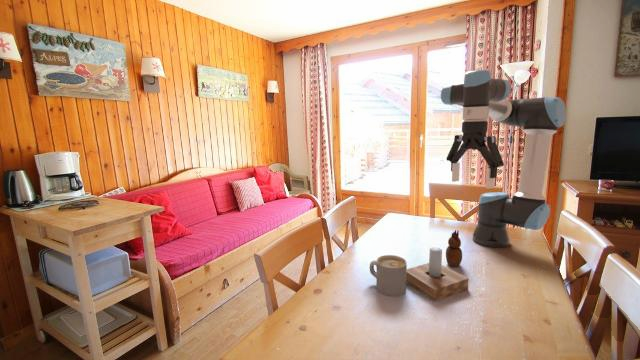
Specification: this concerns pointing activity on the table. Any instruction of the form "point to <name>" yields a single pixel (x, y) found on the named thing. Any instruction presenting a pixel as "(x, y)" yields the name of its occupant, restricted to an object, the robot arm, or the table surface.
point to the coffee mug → (390, 274)
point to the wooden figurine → (454, 250)
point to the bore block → (436, 282)
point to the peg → (435, 262)
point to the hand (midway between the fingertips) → (471, 184)
